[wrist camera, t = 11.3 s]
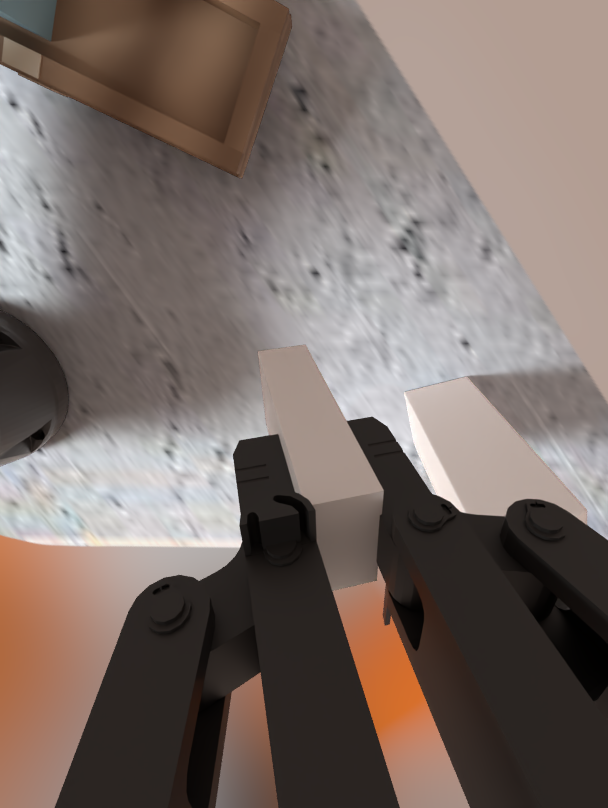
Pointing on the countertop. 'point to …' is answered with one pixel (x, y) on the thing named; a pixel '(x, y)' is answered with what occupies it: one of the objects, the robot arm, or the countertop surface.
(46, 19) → the block
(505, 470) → the milk
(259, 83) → the long brown tray
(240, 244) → the countertop surface
